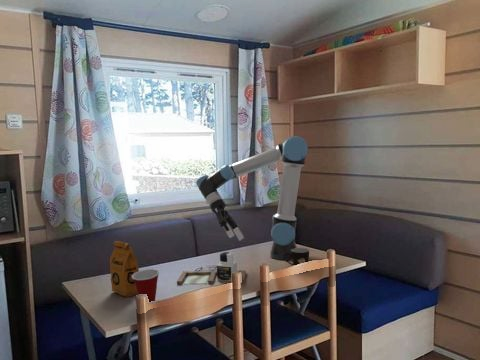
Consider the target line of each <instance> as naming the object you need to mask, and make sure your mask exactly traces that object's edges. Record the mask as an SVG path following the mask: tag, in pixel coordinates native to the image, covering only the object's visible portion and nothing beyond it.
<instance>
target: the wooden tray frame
mask: <svg viewBox="0 0 480 360" xmlns="http://www.w3.org/2000/svg"><path fill="white" fill-rule="evenodd" d="M237 271H239V272H241V273H242V283H241V284H245V281H244V280H246V269H237ZM216 276H217V270H189V271H188V270H185V271H182V273H181V274H180V275H179V278H178V279H177V281H176V285H178V286H179V285H183V284H184V285H206V284H207V283H208V285H213V284H214V282H215V278H216Z"/></svg>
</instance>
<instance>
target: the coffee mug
mask: <svg viewBox="0 0 480 360" xmlns="http://www.w3.org/2000/svg"><path fill="white" fill-rule="evenodd" d="M291 253H292V254H290V253H286V254H285V255H287V254H289V255H290V256H291V257H292V259H291V260H292V263H291V262H290V261H288V260H286V259H285V255H284V260H283V261H285V262H286V263H287V264H289V265H291V266H293V265H297V264H300V263H304V262H308V263H309V258H310V249H308V248H305V247H297V248H294V249H292V250H291Z"/></svg>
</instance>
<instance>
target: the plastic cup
mask: <svg viewBox="0 0 480 360" xmlns="http://www.w3.org/2000/svg"><path fill="white" fill-rule="evenodd" d="M159 275H160V271H159V270H158V269H156V268H154V269H153V268H147V269H142V270H139V271H138V272H136V273H134V274H133V275H132V279H133V280H134V282H135V285H136V289H137V293H138V294H147V296H148V299H149V302H151V301H155V302H156V296H157V289H158V279H159ZM138 294H137V295H138Z"/></svg>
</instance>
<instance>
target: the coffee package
mask: <svg viewBox="0 0 480 360" xmlns="http://www.w3.org/2000/svg"><path fill="white" fill-rule="evenodd" d="M113 245H114V247H113V251H112V252H111V256H110V259H109V265H110V267H109V269H110V283H111V284H110V285H111V292H114V293H116V294H118V295H120V296H122V297H125V298H130V297H132V296H133V297H134V296H136V295H138V293H137V289H136V285H135V282H134V280H133V279H132V275H133V274H134V273H136V272H138V271H140V269H139V265H138V260H137V257H136V255H135V253H134V251H133V249H132V247H131V244H129V243H127V242H124V241H117V240H115V241H114V242H113Z"/></svg>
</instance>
